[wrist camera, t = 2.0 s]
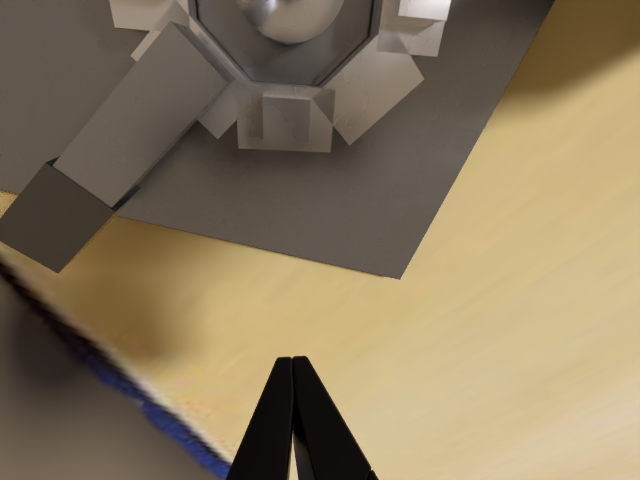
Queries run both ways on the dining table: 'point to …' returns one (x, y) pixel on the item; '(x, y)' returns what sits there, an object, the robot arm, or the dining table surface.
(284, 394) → the robot arm
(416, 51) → the grey ring frame
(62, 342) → the dining table surface
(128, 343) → the dining table surface
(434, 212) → the cap plate
